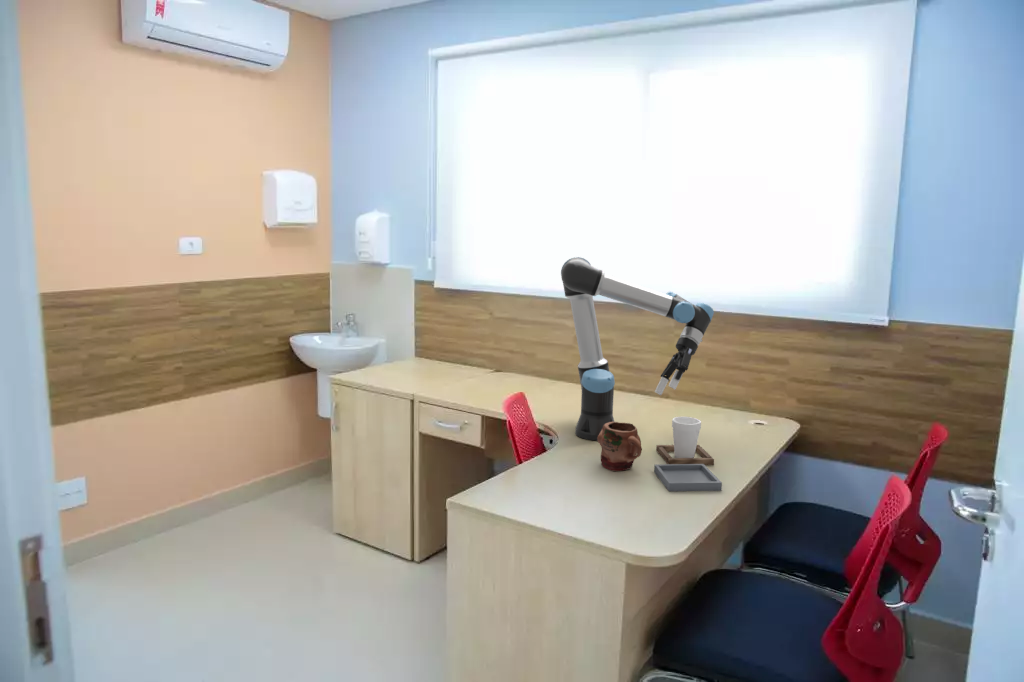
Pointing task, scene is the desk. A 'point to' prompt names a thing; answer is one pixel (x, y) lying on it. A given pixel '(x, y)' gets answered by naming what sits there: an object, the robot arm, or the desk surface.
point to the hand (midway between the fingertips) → (664, 390)
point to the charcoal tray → (687, 477)
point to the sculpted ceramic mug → (619, 445)
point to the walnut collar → (668, 459)
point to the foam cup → (685, 436)
